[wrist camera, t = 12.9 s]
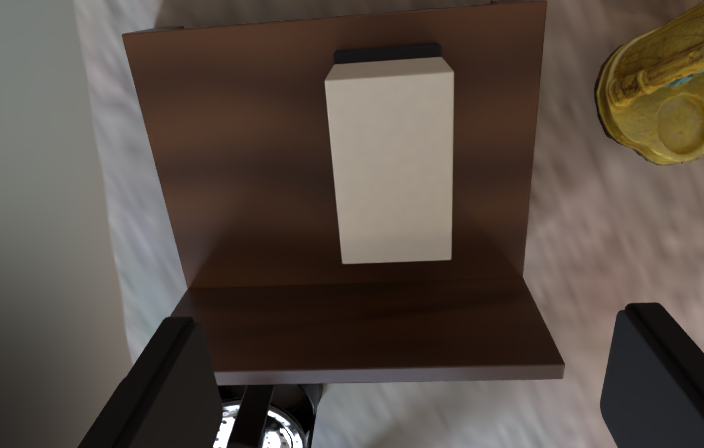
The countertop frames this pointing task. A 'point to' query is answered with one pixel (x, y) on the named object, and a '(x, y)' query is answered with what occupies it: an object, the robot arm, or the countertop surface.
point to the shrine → (657, 91)
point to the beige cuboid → (392, 152)
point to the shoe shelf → (320, 200)
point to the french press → (266, 419)
